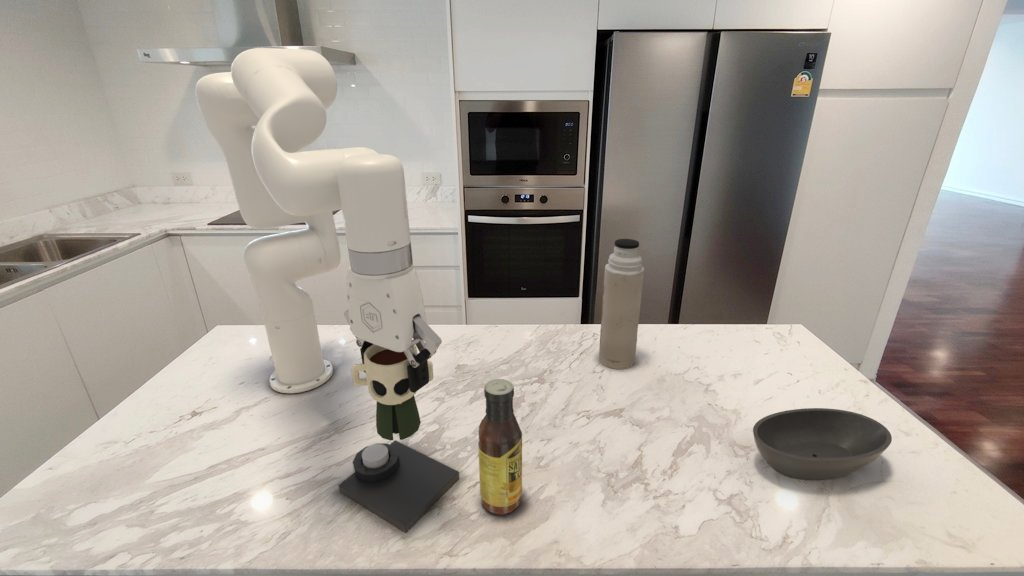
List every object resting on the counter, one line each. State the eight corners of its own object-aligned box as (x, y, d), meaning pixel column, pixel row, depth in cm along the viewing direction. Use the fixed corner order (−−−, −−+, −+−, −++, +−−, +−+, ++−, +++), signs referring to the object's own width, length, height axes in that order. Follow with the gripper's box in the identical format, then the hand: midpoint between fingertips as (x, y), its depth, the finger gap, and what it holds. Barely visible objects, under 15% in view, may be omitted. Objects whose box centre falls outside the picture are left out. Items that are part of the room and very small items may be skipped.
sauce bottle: (517, 520, 69) (516, 405, 61) (475, 513, 70) (469, 399, 62) (525, 486, 74) (525, 377, 67) (486, 480, 76) (482, 372, 68)
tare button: (357, 463, 76) (356, 455, 75) (376, 448, 79) (375, 440, 78) (375, 472, 74) (374, 465, 73) (394, 457, 77) (393, 449, 76)
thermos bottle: (592, 362, 108) (600, 242, 97) (608, 347, 114) (616, 233, 103) (626, 373, 103) (637, 249, 93) (640, 357, 109) (652, 239, 99)
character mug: (356, 449, 66) (343, 368, 60) (364, 415, 72) (353, 340, 67) (436, 443, 67) (430, 364, 62) (437, 410, 73) (432, 336, 68)
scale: (333, 488, 75) (330, 473, 73) (390, 443, 84) (388, 429, 83) (406, 533, 67) (403, 517, 66) (459, 478, 76) (458, 463, 75)
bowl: (729, 446, 82) (735, 416, 80) (843, 431, 85) (852, 402, 83) (775, 501, 71) (784, 469, 69) (904, 482, 74) (917, 450, 72)
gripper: (310, 254, 61) (332, 372, 68) (412, 280, 52) (425, 412, 59) (357, 240, 67) (372, 349, 74) (455, 261, 58) (462, 383, 65)
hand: (396, 377), depth 66 cm, fingers closed on character mug, 8 cm apart
